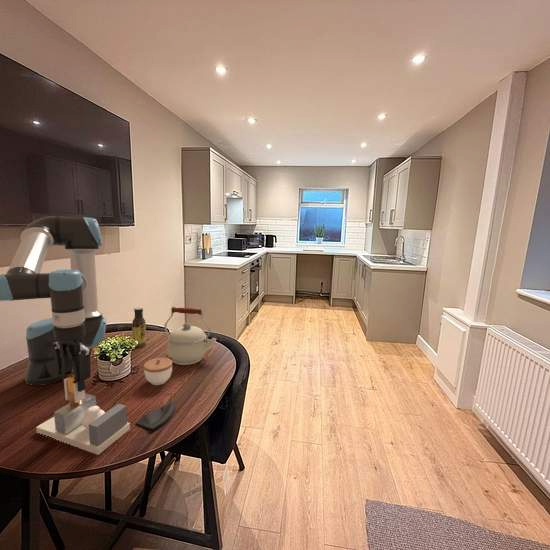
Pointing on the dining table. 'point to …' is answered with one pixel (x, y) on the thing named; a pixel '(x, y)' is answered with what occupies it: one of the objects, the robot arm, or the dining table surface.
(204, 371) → the dining table surface
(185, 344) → the kettle
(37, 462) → the dining table surface
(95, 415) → the white steamed bun
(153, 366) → the lidded jar
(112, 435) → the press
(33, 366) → the robot arm
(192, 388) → the dining table surface
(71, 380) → the ram
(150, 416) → the curved wedge
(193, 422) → the dining table surface
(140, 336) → the sauce bottle
